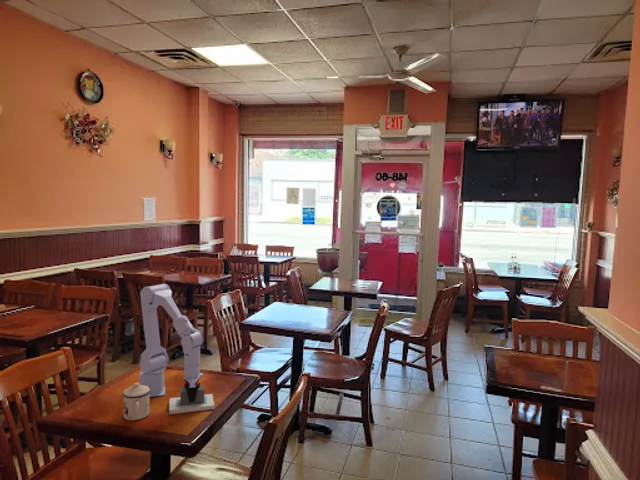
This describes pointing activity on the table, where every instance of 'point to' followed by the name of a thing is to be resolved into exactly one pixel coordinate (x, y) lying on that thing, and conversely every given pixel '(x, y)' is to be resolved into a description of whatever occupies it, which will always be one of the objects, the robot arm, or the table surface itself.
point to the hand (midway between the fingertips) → (191, 398)
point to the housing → (184, 396)
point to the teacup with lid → (136, 402)
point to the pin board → (191, 405)
